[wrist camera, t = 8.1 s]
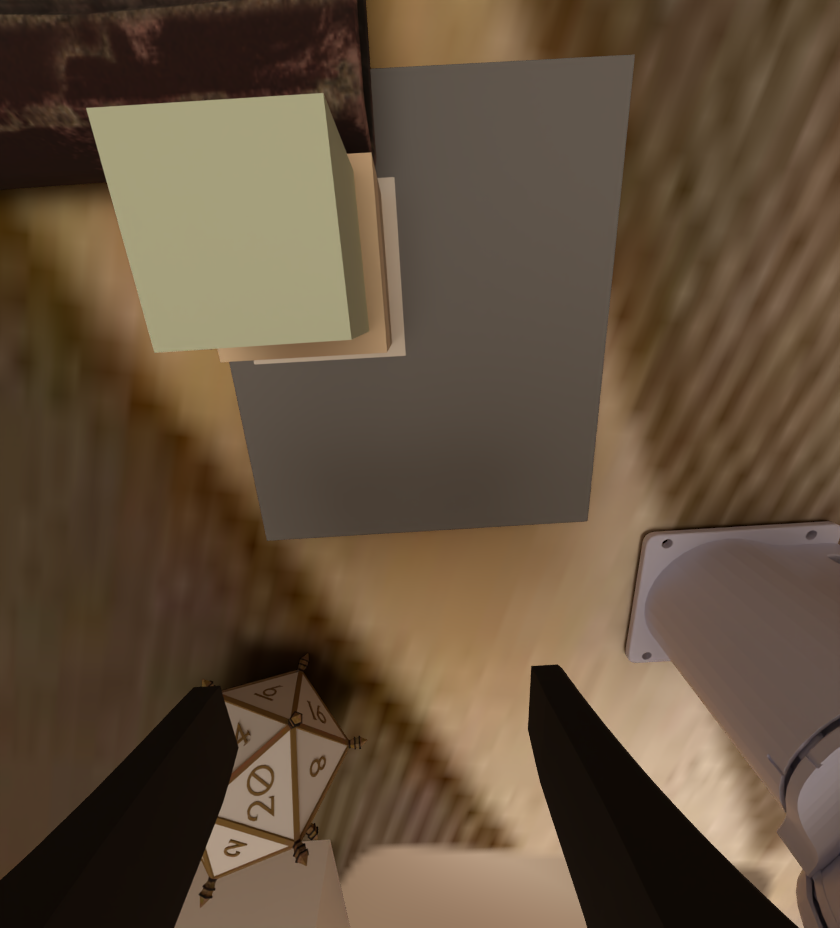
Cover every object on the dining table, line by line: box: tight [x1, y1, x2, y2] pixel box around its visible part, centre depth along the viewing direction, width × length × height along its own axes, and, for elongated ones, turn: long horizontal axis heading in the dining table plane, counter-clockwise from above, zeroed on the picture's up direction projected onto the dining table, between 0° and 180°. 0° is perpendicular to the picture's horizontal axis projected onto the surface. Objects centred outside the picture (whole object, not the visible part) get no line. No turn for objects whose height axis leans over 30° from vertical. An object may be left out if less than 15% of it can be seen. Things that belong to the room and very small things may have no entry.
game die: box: [199, 653, 367, 908], centre depth 19 cm, size 9×8×10 cm
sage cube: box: [86, 93, 369, 353], centre depth 9 cm, size 4×4×4 cm
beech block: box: [218, 153, 392, 362], centre depth 13 cm, size 5×5×4 cm
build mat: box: [229, 55, 635, 541], centre depth 16 cm, size 15×17×1 cm
